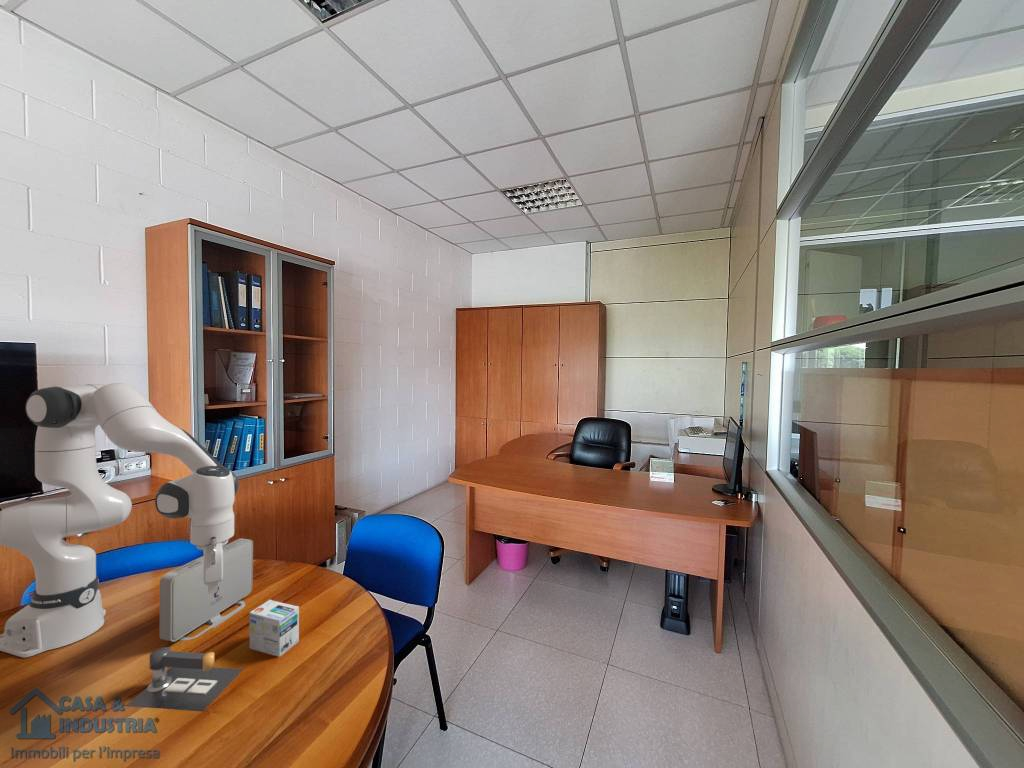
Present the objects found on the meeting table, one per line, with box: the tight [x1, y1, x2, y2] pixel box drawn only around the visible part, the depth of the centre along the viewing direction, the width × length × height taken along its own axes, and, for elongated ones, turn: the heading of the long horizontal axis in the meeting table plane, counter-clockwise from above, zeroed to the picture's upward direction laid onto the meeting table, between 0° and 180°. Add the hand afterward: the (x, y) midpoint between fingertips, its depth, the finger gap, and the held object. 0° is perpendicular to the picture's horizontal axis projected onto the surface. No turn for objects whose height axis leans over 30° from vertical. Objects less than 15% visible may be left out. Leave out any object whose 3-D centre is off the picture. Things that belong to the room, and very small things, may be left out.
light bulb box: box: [248, 599, 300, 658], centre depth 106 cm, size 11×7×11 cm, turn 74°
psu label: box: [164, 678, 195, 693], centre depth 92 cm, size 4×4×1 cm
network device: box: [159, 537, 254, 643], centre depth 116 cm, size 26×9×20 cm, turn 168°
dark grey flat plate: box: [125, 666, 244, 712], centre depth 92 cm, size 18×12×1 cm, turn 88°
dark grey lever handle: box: [149, 646, 215, 671], centre depth 91 cm, size 15×4×3 cm, turn 88°
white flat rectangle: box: [187, 679, 217, 694], centre depth 91 cm, size 4×4×1 cm
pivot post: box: [146, 667, 172, 692], centre depth 92 cm, size 4×4×5 cm
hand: (212, 584), depth 98 cm, fingers open, 7 cm apart
